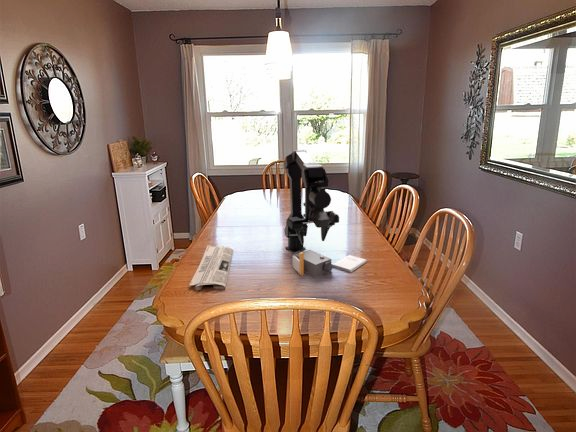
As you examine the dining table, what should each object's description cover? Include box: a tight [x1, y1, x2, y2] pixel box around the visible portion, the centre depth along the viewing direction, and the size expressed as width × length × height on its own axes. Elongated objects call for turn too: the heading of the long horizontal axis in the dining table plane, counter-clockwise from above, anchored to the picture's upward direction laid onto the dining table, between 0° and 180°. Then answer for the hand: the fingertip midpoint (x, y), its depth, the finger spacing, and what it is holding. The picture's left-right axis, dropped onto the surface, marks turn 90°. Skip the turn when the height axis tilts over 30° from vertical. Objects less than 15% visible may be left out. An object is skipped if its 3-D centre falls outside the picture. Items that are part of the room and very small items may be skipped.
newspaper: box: [188, 244, 234, 291], centre depth 145 cm, size 35×12×4 cm, turn 3°
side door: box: [291, 251, 305, 276], centre depth 140 cm, size 8×1×8 cm, turn 23°
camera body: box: [294, 249, 333, 278], centre depth 142 cm, size 14×8×6 cm, turn 38°
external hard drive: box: [332, 254, 368, 273], centre depth 147 cm, size 2×8×12 cm
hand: (312, 242), depth 136 cm, fingers open, 8 cm apart
